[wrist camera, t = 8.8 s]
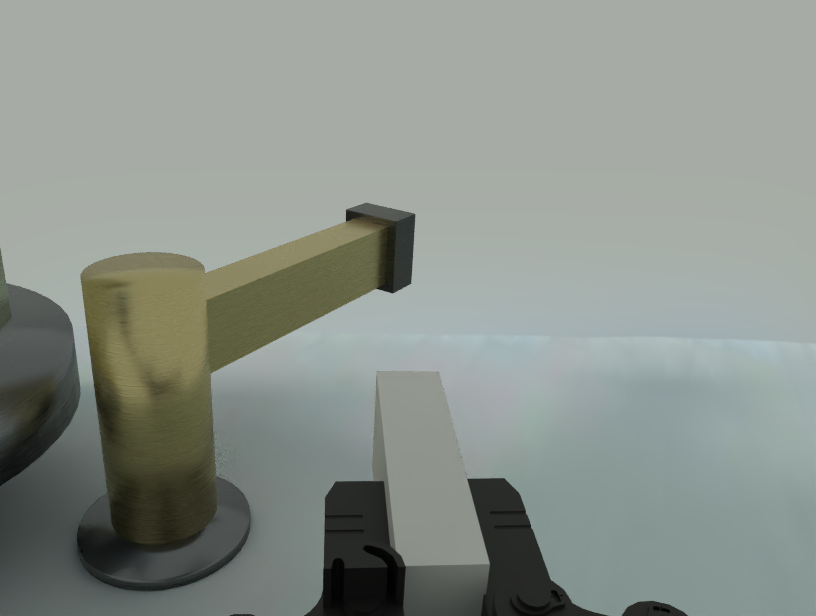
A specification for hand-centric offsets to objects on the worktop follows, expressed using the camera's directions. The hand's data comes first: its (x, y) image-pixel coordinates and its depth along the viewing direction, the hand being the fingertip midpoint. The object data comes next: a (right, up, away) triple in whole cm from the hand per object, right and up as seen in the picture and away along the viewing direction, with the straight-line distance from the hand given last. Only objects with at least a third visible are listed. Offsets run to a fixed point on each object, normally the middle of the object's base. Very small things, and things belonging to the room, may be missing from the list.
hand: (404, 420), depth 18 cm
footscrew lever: (-5, -2, +10) cm, 11 cm away
